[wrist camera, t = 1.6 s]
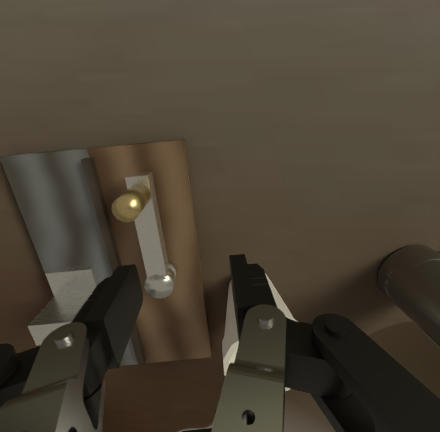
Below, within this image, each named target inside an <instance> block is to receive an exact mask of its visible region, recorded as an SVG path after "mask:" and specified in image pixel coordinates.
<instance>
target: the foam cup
mask: <svg viewBox="0 0 440 432" xmlns="http://www.w3.org/2000/svg"><path fill="white" fill-rule="evenodd" d="M265 275H266V273H265ZM266 278H267V280H268V284H269V286H270V288H271V291H272V294H273V297H274V299H275V302H276V305H277V308H279V309H280V310H281V311H282V312H283V313H284V315H285V317H287V318H289V319H291V320H294V321H296V320H295V319H294V318H293V316H292V314H291V313H290V311H289V310H288V308H287V306H286V305H285V303H284V302H283V300H282V298H281V297H280V295H279V294H278V292H277V290H276V289H275V287H274V286H273V284H272V282H271V281H270V279H269V278H268V276H267V275H266ZM297 322H298V321H297ZM238 345H239V340H238V332H237V325H236V317H235V309H234V302H233V294H232V284H231V281H230V283H229V290H228V301H227V312H226V323H225V334H224V339H223V340H222V350H223V365H224V375H225V376H226V372H227V369H228V366H229V364H230V363H234V361H235V357H236V353H237V349H238ZM289 389H291V388H286V387H285V391H288V390H289Z"/></svg>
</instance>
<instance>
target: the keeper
mask: <svg viewBox="0 0 440 432" xmlns="http://www.w3.org/2000/svg"><path fill="white" fill-rule="evenodd" d="M46 277H47V279H48V282H49V285H50V287H51V290H52V292H53V295H54V297H53V298H52V299H51V300H50V301H49V303H48V304H47V305H46V306H45V307H44V308H43V309H42V310H41V311H40V313H39V314H38V315H37V316H36V317H35V318H34V319H33V320H32V322H31V323H30V324H29V325H28V328H29V330H30V333H31V335H32V337H33V339H34V341H35V343H36V345H41V344H42V342H43V340H44V339H45V338H46V337H47V336H48V335H49V334H50V333H51V332H52V331H54V330H55V329H57V328H59V327H61V326H63V325H65V324H68V323H72V321H73V320H74V318H75V317H76V315H77V314H78V312H79V311H80V309H81V308H82V307H83V305H84V304H85V302H86V301H87V299H88V298H89V296H90V295H91V294H92V292H93V291H94V289H95V288H96V286H97V285H98V284H99V283H100V279H99V276H98V273H97V269H96V266H95V265H85V266H74V267H64V268H53V269H50V270H49V271H48V272H47V273H46Z"/></svg>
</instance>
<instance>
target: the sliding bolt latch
mask: <svg viewBox="0 0 440 432" xmlns="http://www.w3.org/2000/svg"><path fill="white" fill-rule="evenodd" d="M0 160H1V163H2V165H3V168H4V170H5V173H6V175H7V178H8V180H9V183H10V186H11V188H12V191H13V193H14V196H15V198H16V201H17V203H18V206H19V209H20V211H21V214H22V216H23V219H24V221H25V224H26V226H27V229H28V231H29V234H30V237H31V239H32V242H33V244H34V247H35V249H36V252H37V254H38V257H39V260H40V262H41V265H42V267H43V270H44V272H45V275H46V273H47V272H48V271H49V270H50V269H53V268H64V267H74V266H85V265H95V266H96V269H97V273H98V276H99V279H100V282H102V281H103V280H104V279H105V278H107V277H111V275H112V274H113V272H114V271H115V269H116V268H117V266H121V265H131V264H135V265H136V267H137V270H138V275H139V279H140V283H141V287H142V292H143V302H142V306H141V309H140V312H139V314H138V317H137V320H136V322H135V325H134V328H133V331H132V333H131V336H130V339H129V341H128V344H127V347H126V350H125V352H124V355H123V358H122V360H121V363H120V366H124V365H135V364H138V365H144V364H145V363H156V362H166V361H177V360H187V359H198V358H208V357H211V343H210V335H209V327H208V319H207V312H206V304H205V296H204V288H203V281H202V273H201V265H200V257H199V250H198V242H197V234H196V227H195V219H194V211H193V203H192V196H191V188H190V180H189V172H188V165H187V157H186V149H185V141H184V139H183V140H172V141H161V142H150V143H139V144H127V145H116V146H105V147H94V148H83V149H72V150H61V151H50V152H39V153H27V154H16V155H7V156H1V157H0ZM144 172H152V176H153V182H154V187H155V193H156V198H157V204H158V209H159V215H160V220H161V226H162V231H163V237H164V242H165V248H166V253H167V259H168V264H169V268H170V269H171V270H172V271H173V272H174V274H175V283H174V287H173V291H172V293H171V294H170V295H169V296H167V297H165V298H154V297H152V296H150V295H149V294H148V293H147V292H146V290H145V288H144V284H145V281H146V278H147V275H146V270H145V266H144V261H143V257H142V252H141V248H140V243H139V239H138V234H137V230H136V225H135V221H132V222H122V221H120V220H118V219H117V218H116V217H115V216H114V215H113V213H112V204H113V202H114V201H115V200H116V199H117V198H118V197H120V196H121V195H122V194H123V193H124V192H126V191H127V190H128V189H127V185H126V180H125V177H126V176H128V175H129V174H133V173H144ZM47 280H48V279H47ZM50 288H51V287H50ZM52 293H53V292H52Z"/></svg>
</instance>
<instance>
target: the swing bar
mask: <svg viewBox="0 0 440 432" xmlns="http://www.w3.org/2000/svg"><path fill="white" fill-rule="evenodd" d="M125 180H126V185H127V189H128V190H127V191H126V192H124V193H123V194H122V195H121V196H120V197H118V198H117V199H116V200H115V201H114V202H113V204H112V213H113V215H114V216H115V217H116V218H117V219H118V220H120V221H122V222H132V221H135V225H136V230H137V234H138V239H139V243H140V248H141V252H142V257H143V261H144V266H145V270H146V275H147V278H146V281H145V284H144V288H145V290H146V292H147V293H148V294H149V295H150V296H152V297H154V298H165V297H167V296H169V295H170V294H171V293H172V291H173V287H174V283H175V274H174V272H173V271H172V270H171V269H170V268H169V264H168V259H167V253H166V248H165V242H164V237H163V231H162V226H161V220H160V215H159V209H158V204H157V198H156V193H155V187H154V182H153V176H152V172H144V173H133V174H129V175H128V176H126V177H125Z"/></svg>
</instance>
